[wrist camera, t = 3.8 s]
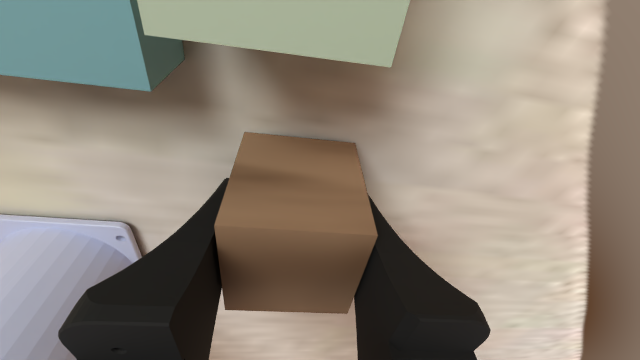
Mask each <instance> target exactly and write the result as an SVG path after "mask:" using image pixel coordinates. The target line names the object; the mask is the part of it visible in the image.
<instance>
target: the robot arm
mask: <svg viewBox="0 0 640 360" xmlns="http://www.w3.org/2000/svg"><path fill="white" fill-rule="evenodd" d="M228 181H229V178H226V179H224V181H223V182H222V183H221V185H220V186H219V187H218V188H217V190H216V191H215V192H214V193H213V195H212V196H211V197H210V198H209V199H208V200H207V201H206V203H205V204H204V205H203V206H202V207H201V208H200V209H199V210H198V211H197V212H196V213H195V214H194V215H193V216H192V217H191V218H190V219H189V220H188V221H187V222H186V223H185V224H184V225H183V226H182V227H181V228H180V229H179V230H177V231H176V232H175V233H174V234H173V235H171V236H170V237H169V238H168V239H167V240H165V241H164V242H163V243H161V244H160V245H159V246H157V247H156V248H155V249H153V250H152V251H151V252H149V253H148V254H146V255H145V256H143V257H142V256H141V253H140V251H139V248H138V246H137V243H136V240H135V238H134V235H133V233H132V230H131V228H130V227H129V226H128V225H127V224H125V223H123V222H113V221H97V220H81V219H65V218H49V217H33V216H17V215H2V214H0V360H209V354H210V348H211V342H212V337H213V331H214V325H215V320H216V315H217V310H218V304H219V299H220V294H221V289H222V282H221V274H220V266H219V259H218V251H217V243H216V236H215V228H214V225H215V221H216V218H217V215H218V212H219V209H220V206H221V203H222V200H223V197H224V194H225V191H226V187H227V184H228ZM367 194H368V193H367ZM368 198H369V202H370V206H371V210H372V214H373V218H374V222H375V226H376V230H377V234H378V236H377V239H376V242H375V244H374V247H373V249H372V252H371V254H370V257H369V259H368V262H367V264H366V267H365V270H364V272H363V275H362V277H361V280H360V282H359V285H358V287H357V290H356V292H355V295H354V300H355V313H356V329H357V350H358V360H477V358H476V356H475V353H474V350H475V349H476V348H477V347H479V346H480V345H481V344H482V343H483V342H484V341H485V340H486V339H487V338H488V337H489V334H490V328H489V326H488V323H487V321H486V319H485V317H484V315H483V313H482V311H481V309H480V307H479V305H478V303H477V302H475V301H474V300H472V299H471V298H469V297H468V296H466V295H465V294H463V293H462V292H460V291H459V290H457V289H456V288H455V287H453V286H452V285H451V284H449V283H448V282H447V281H445V280H444V279H443V278H442V277H440V276H439V275H438V274H437V273H435V272H434V271H433V270H432V269H431V268H430V267H428V266H427V265H426V264H425V263H424V262H423V261H422V260H421V259H420V258H419V257H417V256H416V255H415V254H414V253H413V252H412V251H411V249H410V248H409V247H408V246H407V245H406V244H405V243H404V242H403V241H402V240H401V239H400V238H399V236H398V235H397V234H396V233H395V231H394V230H393V229H392V228H391V226H390V225H389V224H388V222H387V221H386V220H385V218H384V217H383V216H382V214H381V213H380V211H379V210H378V208H377V207H376V205H375V204H374V202H373V201H372V199H371V198H370V196H369V195H368Z"/></svg>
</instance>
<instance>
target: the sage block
mask: <svg viewBox="0 0 640 360" xmlns="http://www.w3.org/2000/svg"><path fill="white" fill-rule="evenodd" d="M137 3H138V7H139V12H140V16H141V21H142V26H143V30H144V35H150V36H157V37H165V38H172V39H180V40H187V41H195V42H202V43H210V44H217V45H225V46H232V47H240V48H248V49H255V50H263V51H270V52H278V53H285V54H293V55H300V56H308V57H315V58H323V59H331V60H338V61H346V62H353V63H361V64H368V65H376V66H383V67H391V66H392V63H393V59H394V55H395V52H396V48H397V45H398V41H399V38H400V34H401V31H402V27H403V24H404V20H405V17H406V13H407V10H408V6H409V3H410V0H137Z"/></svg>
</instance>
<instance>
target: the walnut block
mask: <svg viewBox="0 0 640 360" xmlns="http://www.w3.org/2000/svg"><path fill="white" fill-rule="evenodd" d="M214 228H215V236H216V243H217V251H218V259H219V266H220V274H221V282H222V289H223V297H224V305H225V310H245V311H278V312H311V313H344V314H347V313H348V310H349V308H350V305H351V303H352V300H353V298H354V295H355V292H356V290H357V287H358V285H359V282H360V280H361V277H362V275H363V272H364V270H365V267H366V264H367V262H368V259H369V257H370V254H371V252H372V249H373V247H374V244H375V242H376V239H377V236H378V234H377V230H376V226H375V222H374V218H373V214H372V210H371V206H370V202H369V198H368V194H367V190H366V186H365V182H364V177H363V173H362V169H361V165H360V161H359V157H358V153H357V149H356V145H355V143H349V142H339V141H329V140H319V139H309V138H299V137H289V136H278V135H268V134H258V133H248V132H244V135H243V138H242V141H241V144H240V147H239V150H238V154H237V157H236V160H235V163H234V166H233V169H232V172H231V175H230V178H229V181H228V184H227V187H226V191H225V194H224V197H223V200H222V203H221V206H220V209H219V212H218V215H217V218H216V221H215V225H214Z"/></svg>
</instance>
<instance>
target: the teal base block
mask: <svg viewBox="0 0 640 360" xmlns="http://www.w3.org/2000/svg"><path fill="white" fill-rule="evenodd" d="M184 59H185V57H184V51H183V44H182V40H180V39H172V38H165V37H157V36H150V35H144V30H143V26H142V21H141V16H140V12H139V7H138V3H137V0H0V75H7V76H16V77H25V78H34V79H43V80H52V81H61V82H70V83H79V84H88V85H97V86H106V87H115V88H124V89H133V90H142V91H152V90H153V89H154V88H155V87H156V86H157V85H158V84H159V83H160V82H161V81H163V80H164V79H165V78H166V77H167V76H168V75H169V74H170V73H171V72H172V71H173V70H174V69H175V68H176V67H177V66H178V65H179V64H180V63H181V62H182V61H183V60H184Z"/></svg>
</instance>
